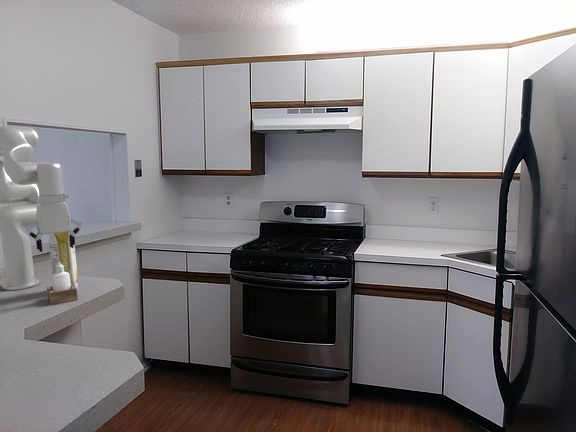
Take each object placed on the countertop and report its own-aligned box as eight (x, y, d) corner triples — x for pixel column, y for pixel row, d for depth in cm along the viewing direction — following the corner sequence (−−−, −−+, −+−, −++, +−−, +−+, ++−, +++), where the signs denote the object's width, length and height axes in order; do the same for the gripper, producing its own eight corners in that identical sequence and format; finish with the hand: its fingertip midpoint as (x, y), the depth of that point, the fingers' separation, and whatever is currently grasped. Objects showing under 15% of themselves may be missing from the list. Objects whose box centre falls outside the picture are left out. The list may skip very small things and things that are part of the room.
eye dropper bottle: (70, 296, 159) (67, 262, 158) (52, 298, 157) (49, 264, 156) (72, 292, 163) (68, 259, 162) (54, 295, 161) (50, 261, 160)
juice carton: (80, 291, 169) (73, 226, 166) (56, 295, 165) (48, 229, 162) (76, 285, 177) (70, 224, 174) (53, 289, 173) (46, 226, 170)
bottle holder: (47, 298, 162) (46, 286, 161) (72, 293, 166) (71, 282, 166) (51, 304, 154) (50, 293, 153) (77, 299, 158) (76, 288, 158)
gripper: (77, 196, 164) (81, 244, 166) (21, 200, 154) (26, 250, 156) (81, 198, 157) (85, 247, 160) (23, 202, 148) (29, 254, 150)
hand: (56, 249), depth 158 cm, fingers open, 9 cm apart
